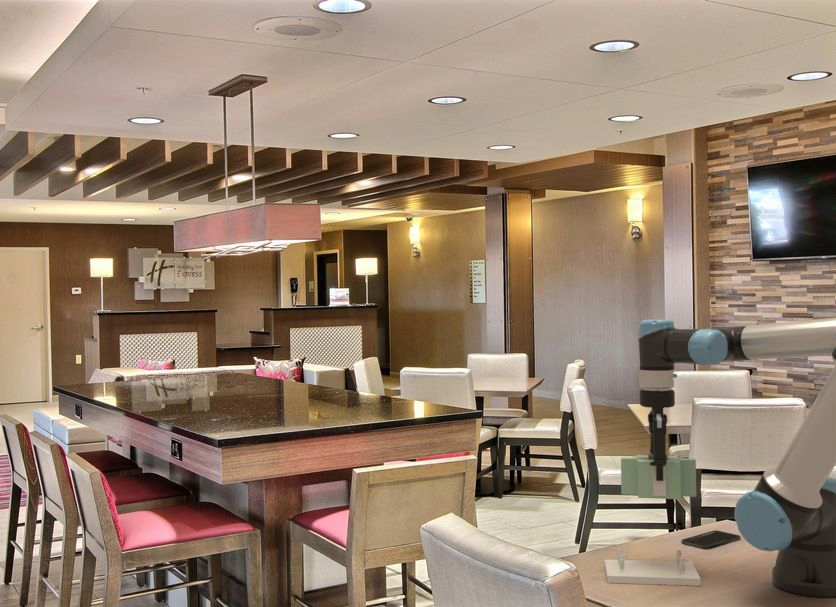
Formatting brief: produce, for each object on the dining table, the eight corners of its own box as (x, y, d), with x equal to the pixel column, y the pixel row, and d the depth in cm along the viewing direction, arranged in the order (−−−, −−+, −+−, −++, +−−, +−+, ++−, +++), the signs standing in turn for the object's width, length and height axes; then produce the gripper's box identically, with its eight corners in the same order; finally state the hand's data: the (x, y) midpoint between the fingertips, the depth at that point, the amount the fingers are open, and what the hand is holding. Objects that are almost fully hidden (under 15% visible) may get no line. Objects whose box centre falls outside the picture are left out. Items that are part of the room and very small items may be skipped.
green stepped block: (694, 491, 199) (693, 452, 199) (697, 499, 191) (697, 459, 191) (621, 489, 202) (620, 451, 202) (621, 497, 194) (621, 457, 194)
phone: (679, 540, 217) (715, 529, 226) (679, 545, 217) (715, 534, 226) (707, 547, 211) (742, 536, 220) (707, 551, 211) (743, 540, 220)
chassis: (692, 568, 196) (691, 546, 196) (700, 585, 184) (700, 562, 184) (604, 566, 199) (604, 543, 199) (607, 582, 187) (607, 559, 187)
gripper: (678, 393, 186) (679, 502, 186) (671, 384, 206) (672, 481, 206) (641, 393, 187) (642, 500, 187) (637, 384, 208) (639, 481, 208)
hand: (658, 490), depth 197 cm, fingers closed on green stepped block, 8 cm apart
